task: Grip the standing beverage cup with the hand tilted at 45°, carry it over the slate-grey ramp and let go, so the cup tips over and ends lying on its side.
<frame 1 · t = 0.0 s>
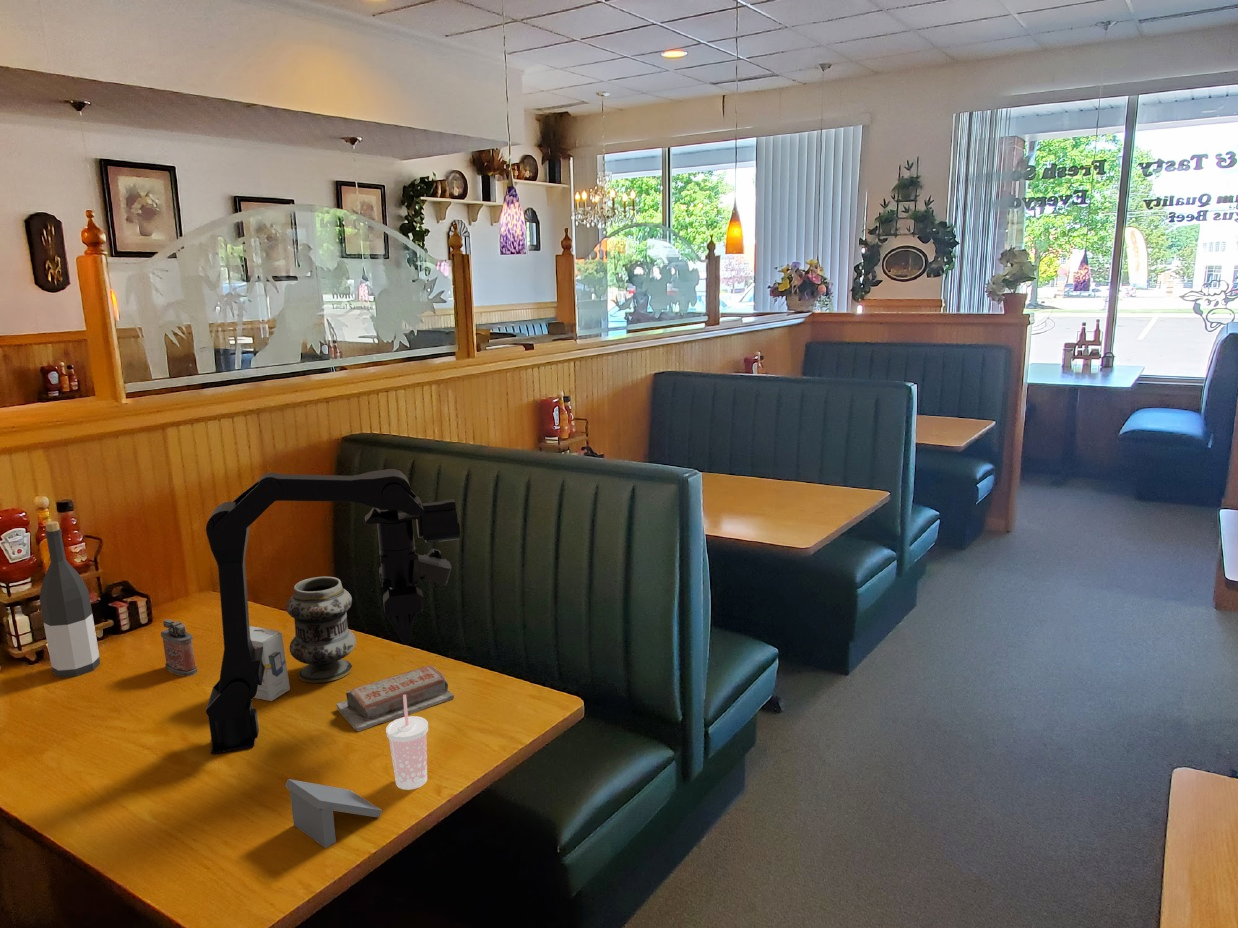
hand: (404, 633, 147), 15 cm above the table, tool pointing down, fingers open, 9 cm apart
wine bottle: (77, 669, 171), on the table
packaged product: (396, 707, 153), on the table
beverage cup: (411, 781, 130), on the table
ink box: (262, 693, 159), on the table
ramp: (347, 817, 121), on the table
lighter: (181, 670, 169), on the table
apothecary jar: (326, 672, 167), on the table
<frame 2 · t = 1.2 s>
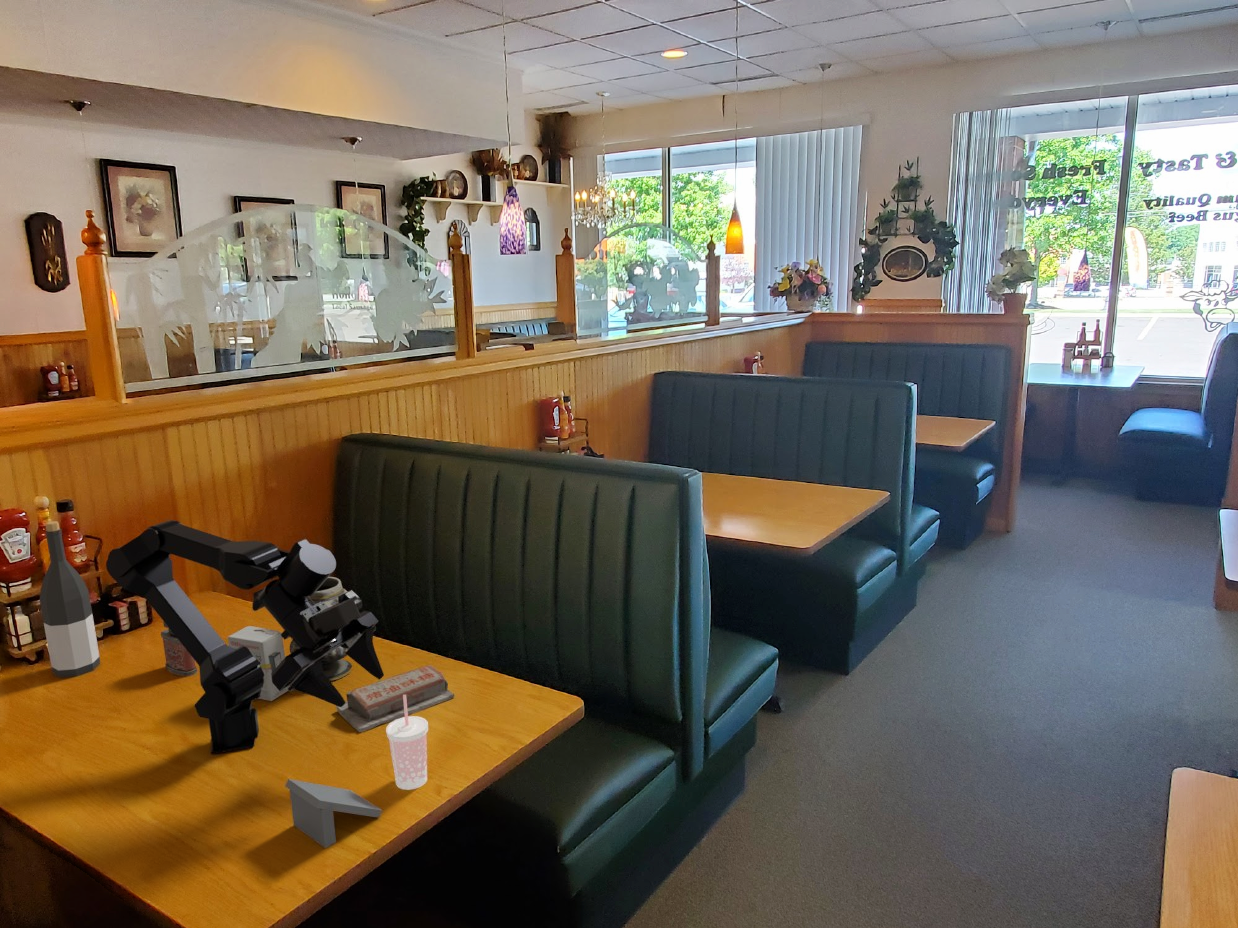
hand: (363, 690, 130), 13 cm above the table, tool tilted 45°, fingers open, 9 cm apart
nothing on the table moved.
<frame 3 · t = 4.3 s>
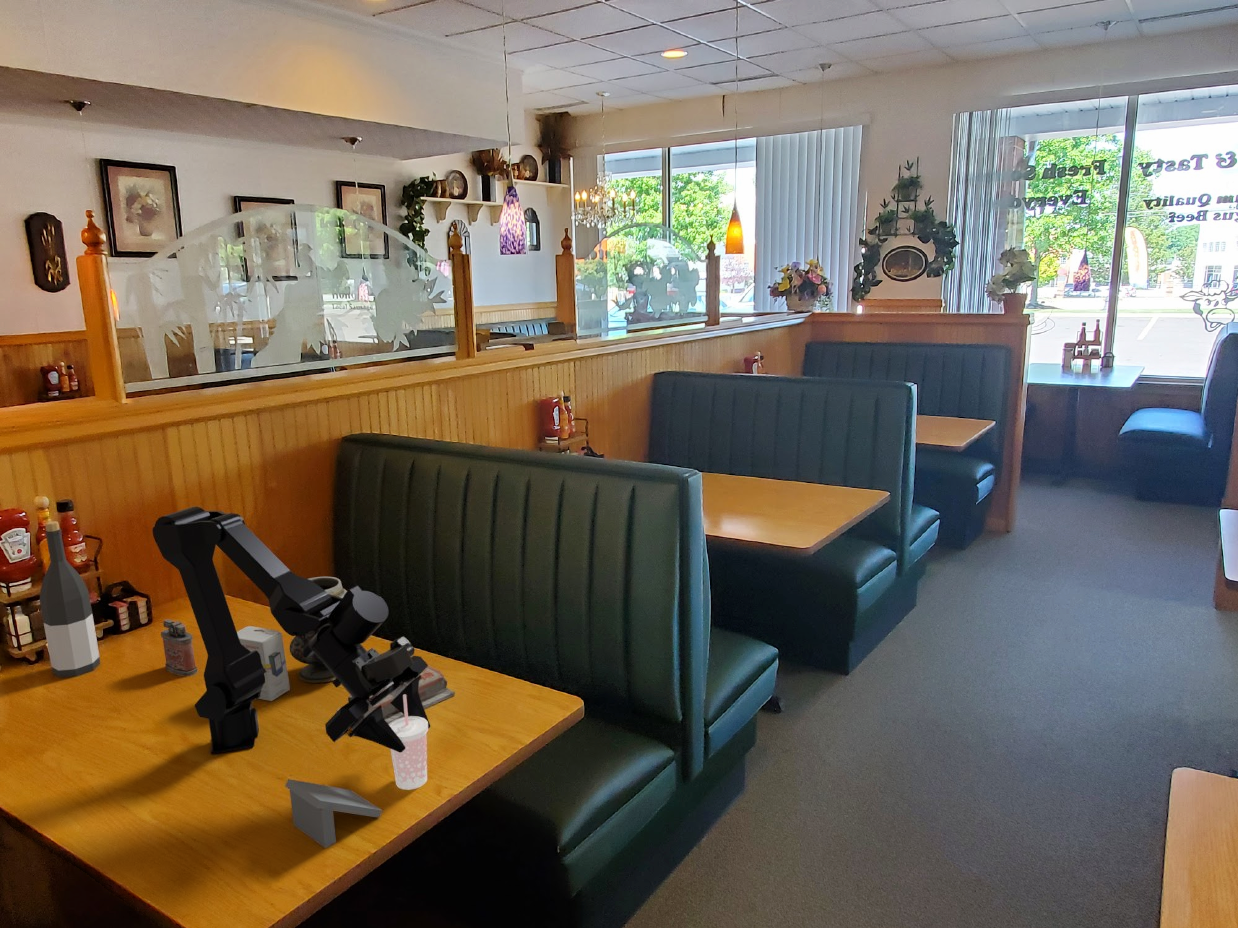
hand: (416, 739, 128), 7 cm above the table, tool tilted 45°, fingers closed on beverage cup, 6 cm apart
beverage cup: (411, 781, 130), on the table, touching gripper
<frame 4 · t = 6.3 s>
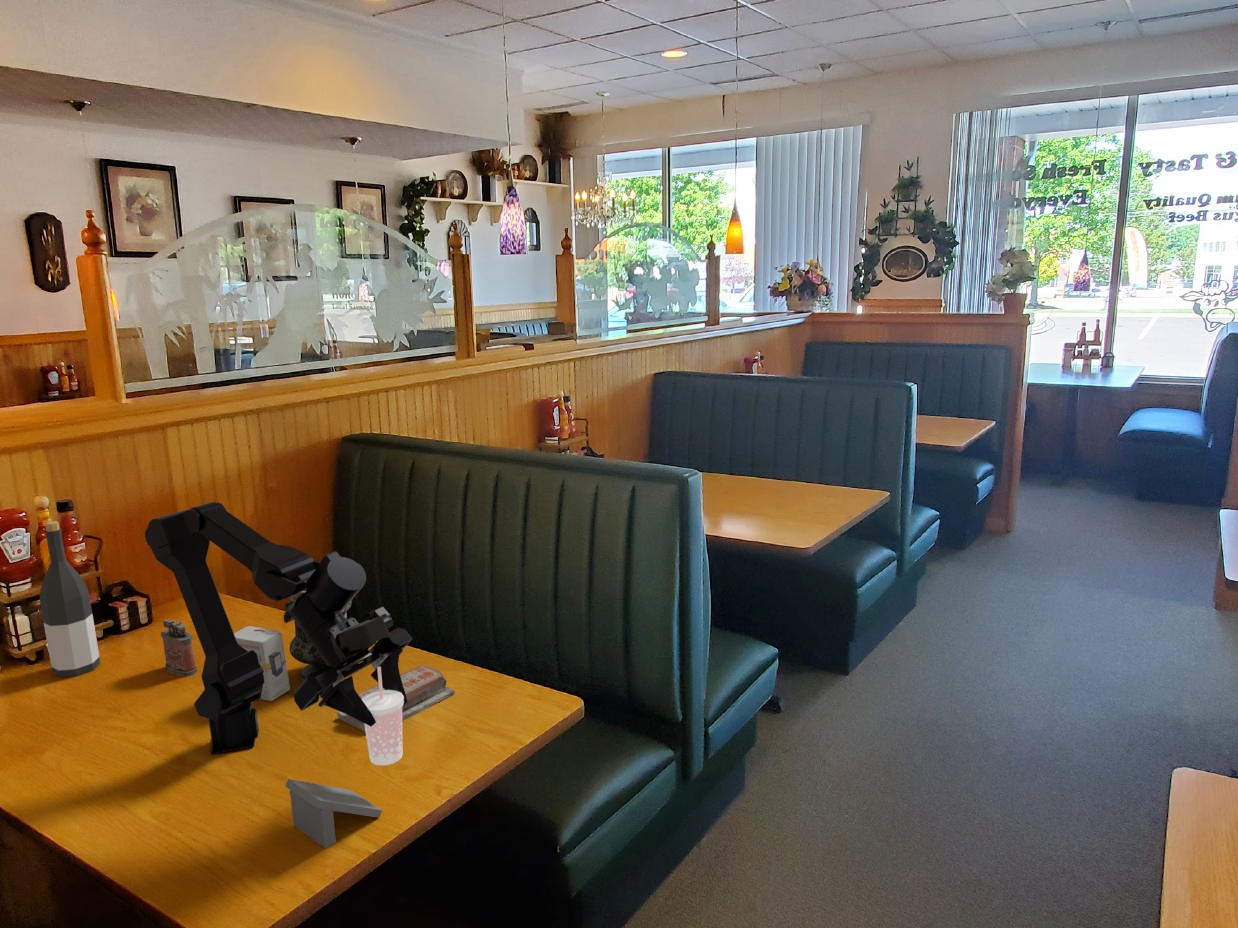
hand: (389, 713, 123), 13 cm above the table, tool tilted 45°, fingers closed on beverage cup, 6 cm apart
beverage cup: (386, 757, 125), point 6 cm above the table, touching gripper
when the fingers open (13 cm above the table, at t = 8.6 s): beverage cup drops 2 cm, resting on ramp.
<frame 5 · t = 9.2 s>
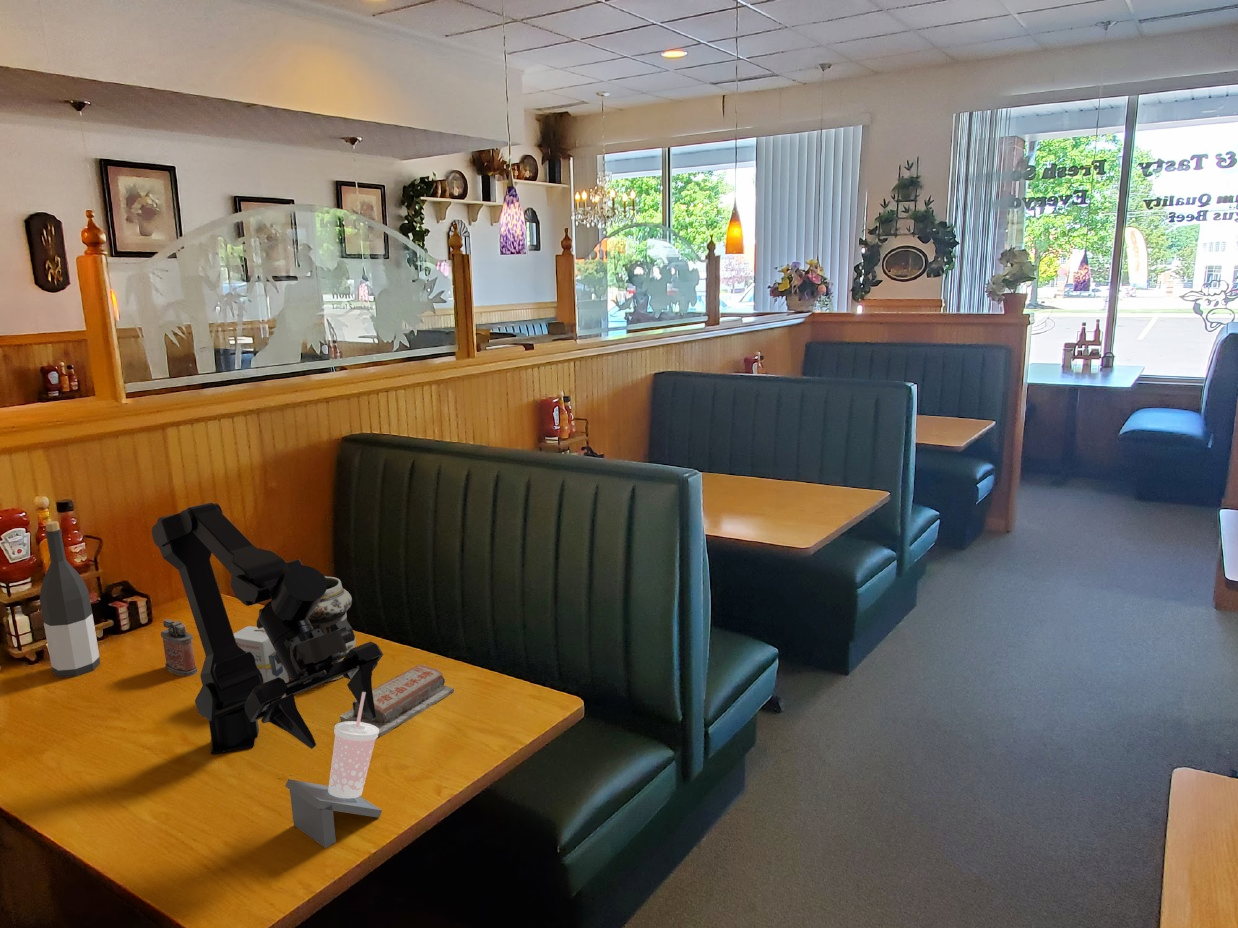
hand: (344, 732, 117), 14 cm above the table, tool tilted 45°, fingers open, 9 cm apart
beverage cup: (344, 793, 120), point 4 cm above the table, touching gripper, ramp
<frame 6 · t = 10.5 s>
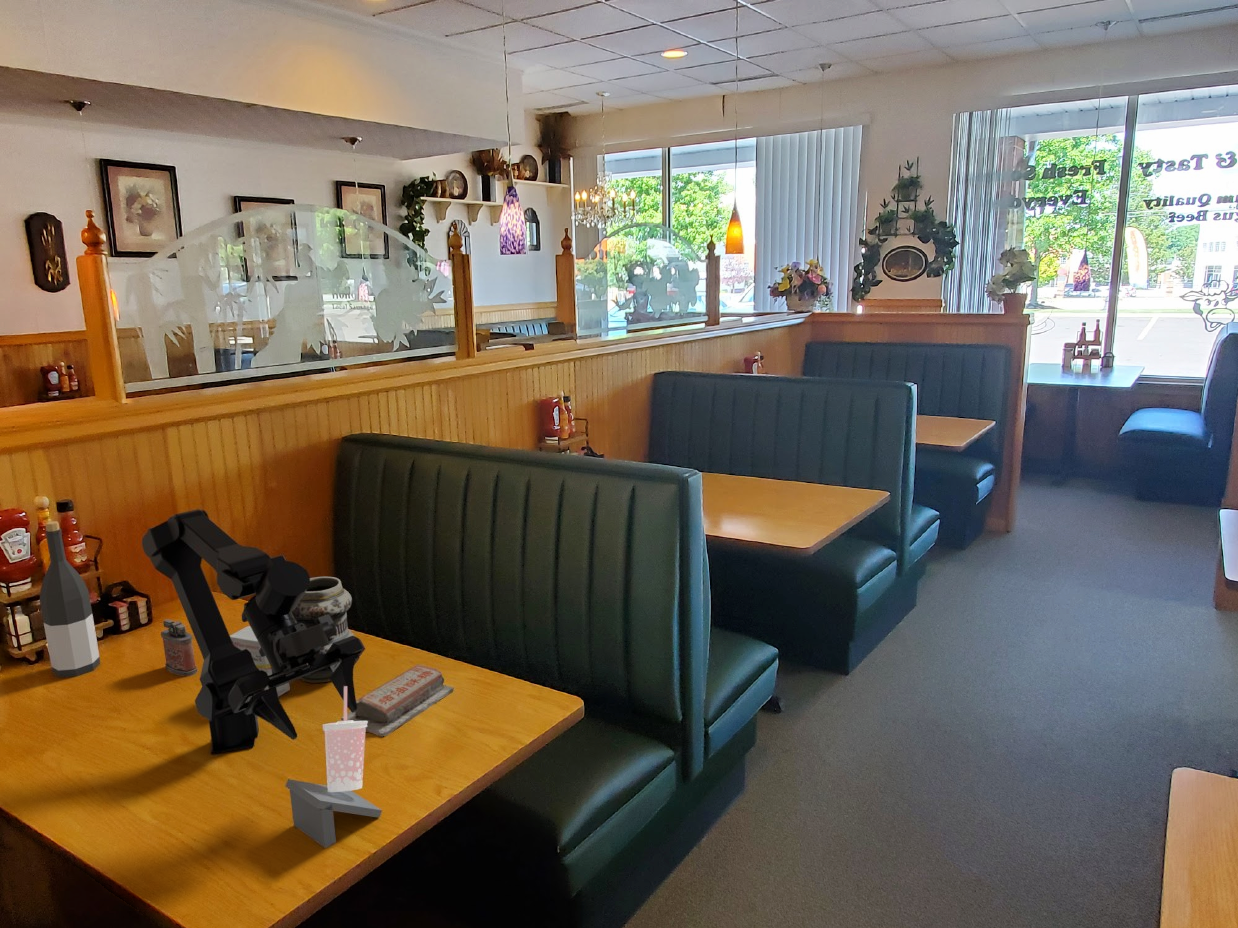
hand: (326, 724, 120), 13 cm above the table, tool tilted 45°, fingers open, 9 cm apart
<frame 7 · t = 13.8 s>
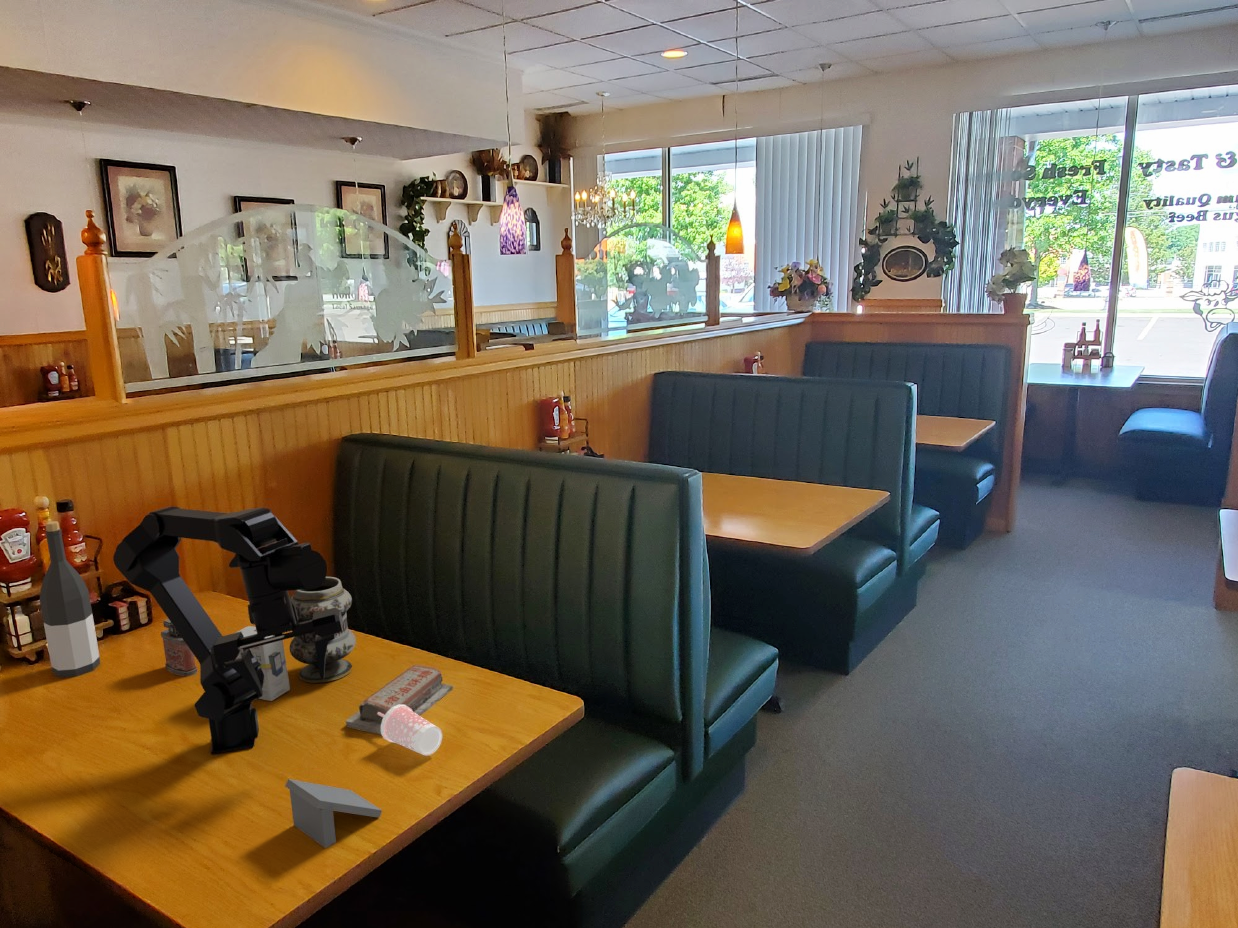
hand: (292, 687, 134), 12 cm above the table, tool pointing down, fingers open, 9 cm apart
beverage cup: (431, 741, 135), point 3 cm above the table
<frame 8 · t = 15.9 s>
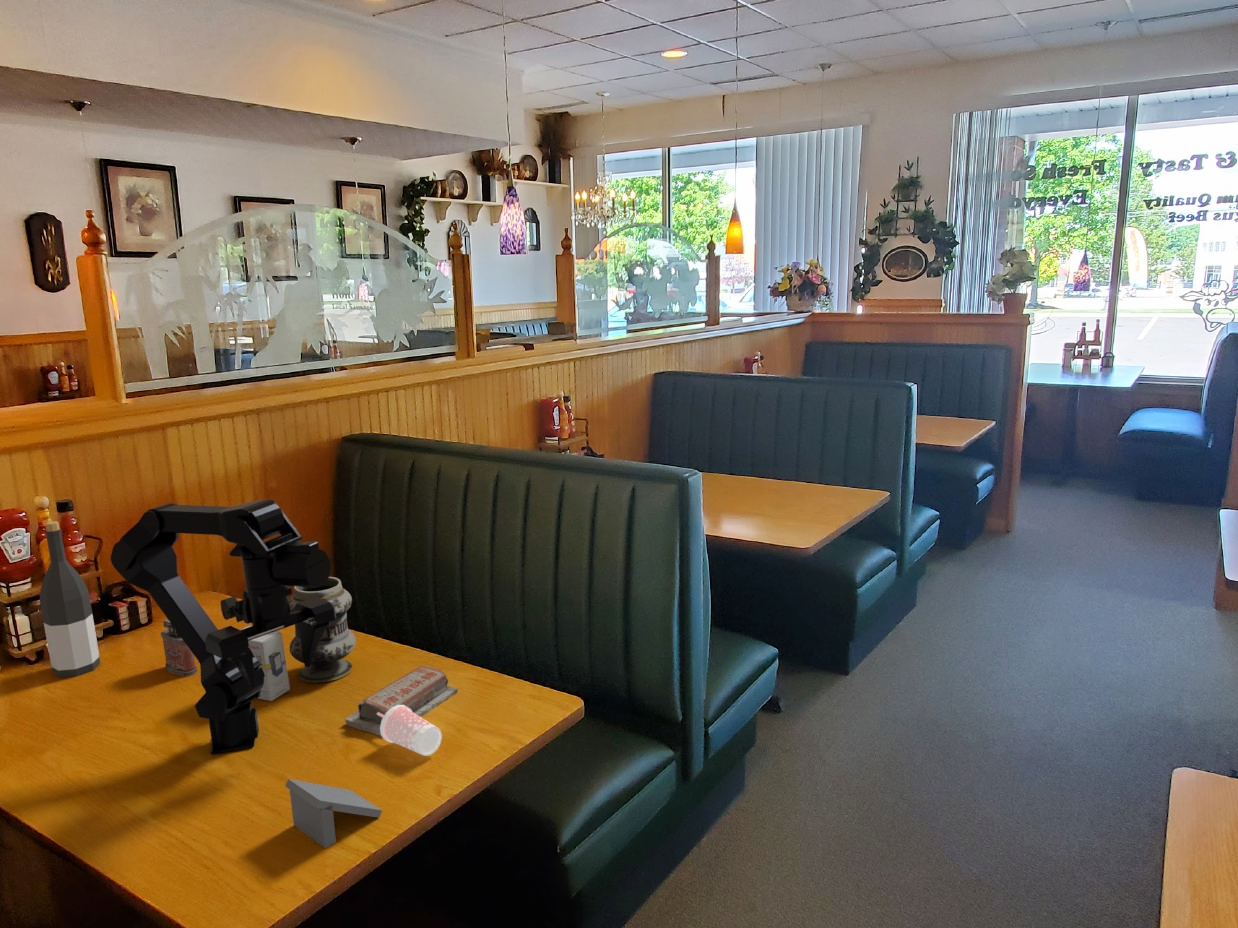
hand: (280, 677, 136), 13 cm above the table, tool pointing down, fingers open, 9 cm apart
at the end: beverage cup tilted 90°; beverage cup 17.1 cm from the ramp (horizontally); the gripper is holding nothing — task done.
